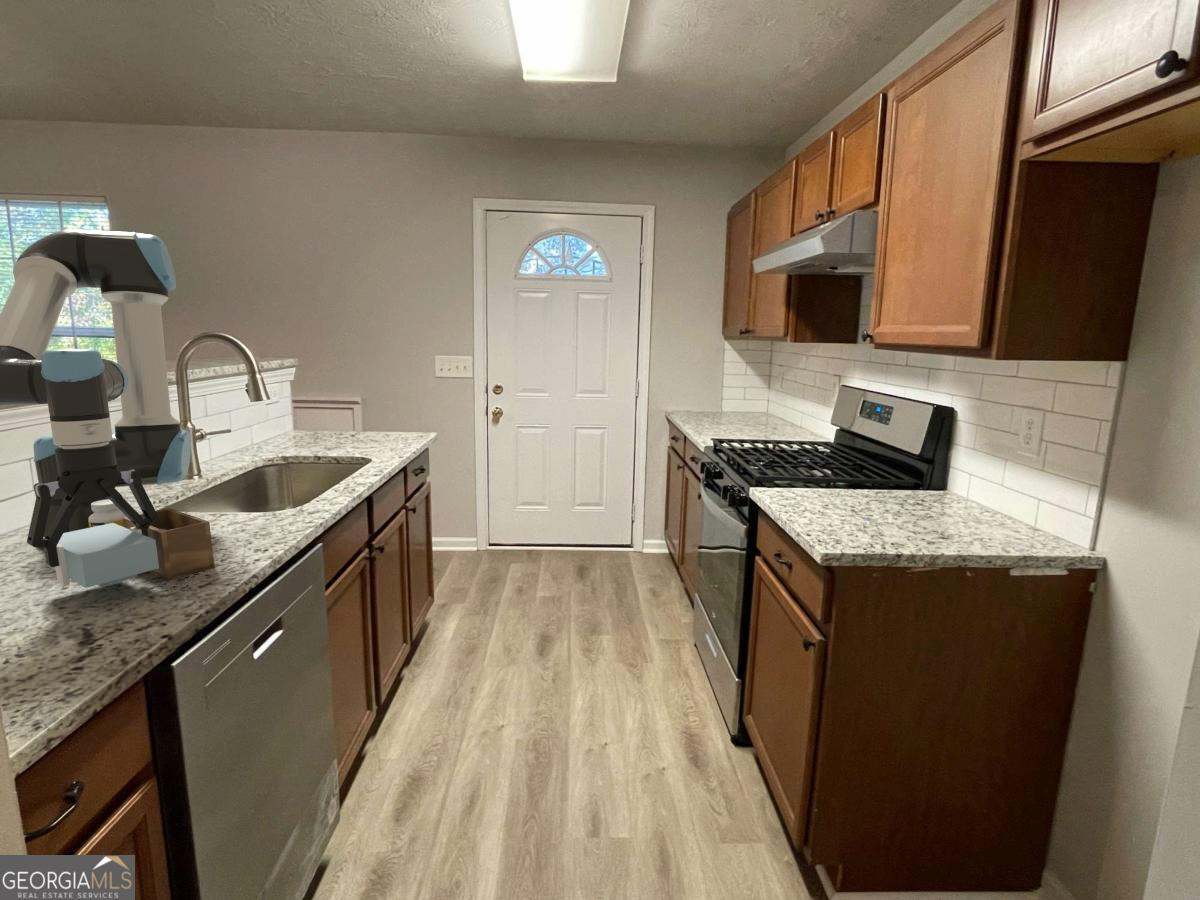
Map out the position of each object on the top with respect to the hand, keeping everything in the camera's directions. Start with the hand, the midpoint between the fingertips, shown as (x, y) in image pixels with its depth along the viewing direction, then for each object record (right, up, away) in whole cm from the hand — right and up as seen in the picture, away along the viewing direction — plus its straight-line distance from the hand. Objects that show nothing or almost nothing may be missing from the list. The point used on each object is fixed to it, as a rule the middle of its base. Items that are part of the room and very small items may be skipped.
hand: (103, 573), depth 105 cm
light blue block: (0, 0, 0) cm, 0 cm away
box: (+2, -1, +13) cm, 14 cm away
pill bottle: (-13, 0, +18) cm, 22 cm away
